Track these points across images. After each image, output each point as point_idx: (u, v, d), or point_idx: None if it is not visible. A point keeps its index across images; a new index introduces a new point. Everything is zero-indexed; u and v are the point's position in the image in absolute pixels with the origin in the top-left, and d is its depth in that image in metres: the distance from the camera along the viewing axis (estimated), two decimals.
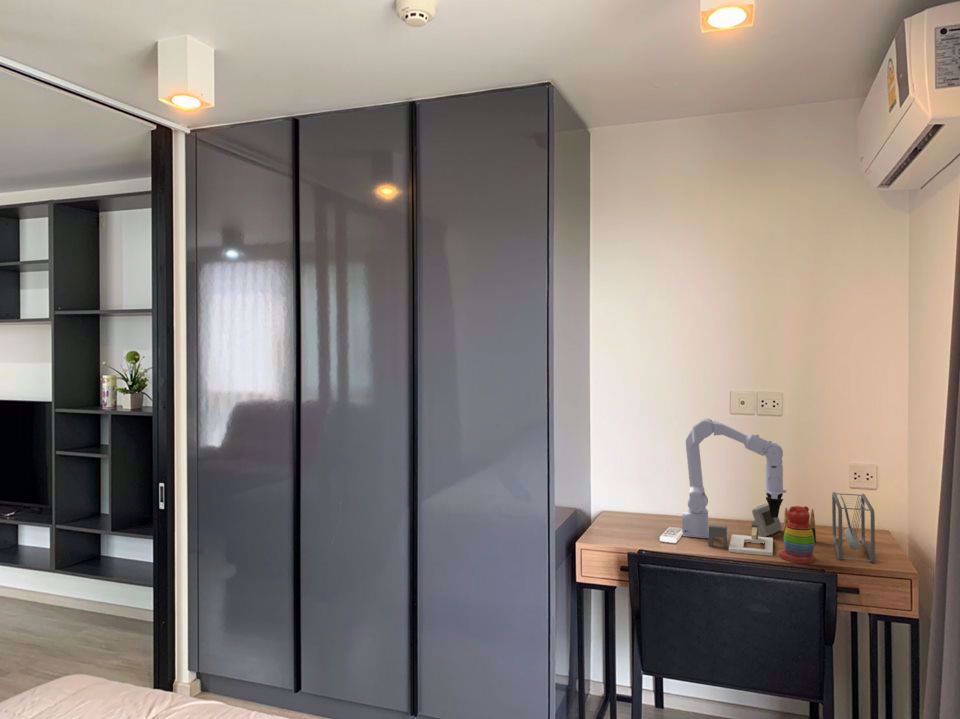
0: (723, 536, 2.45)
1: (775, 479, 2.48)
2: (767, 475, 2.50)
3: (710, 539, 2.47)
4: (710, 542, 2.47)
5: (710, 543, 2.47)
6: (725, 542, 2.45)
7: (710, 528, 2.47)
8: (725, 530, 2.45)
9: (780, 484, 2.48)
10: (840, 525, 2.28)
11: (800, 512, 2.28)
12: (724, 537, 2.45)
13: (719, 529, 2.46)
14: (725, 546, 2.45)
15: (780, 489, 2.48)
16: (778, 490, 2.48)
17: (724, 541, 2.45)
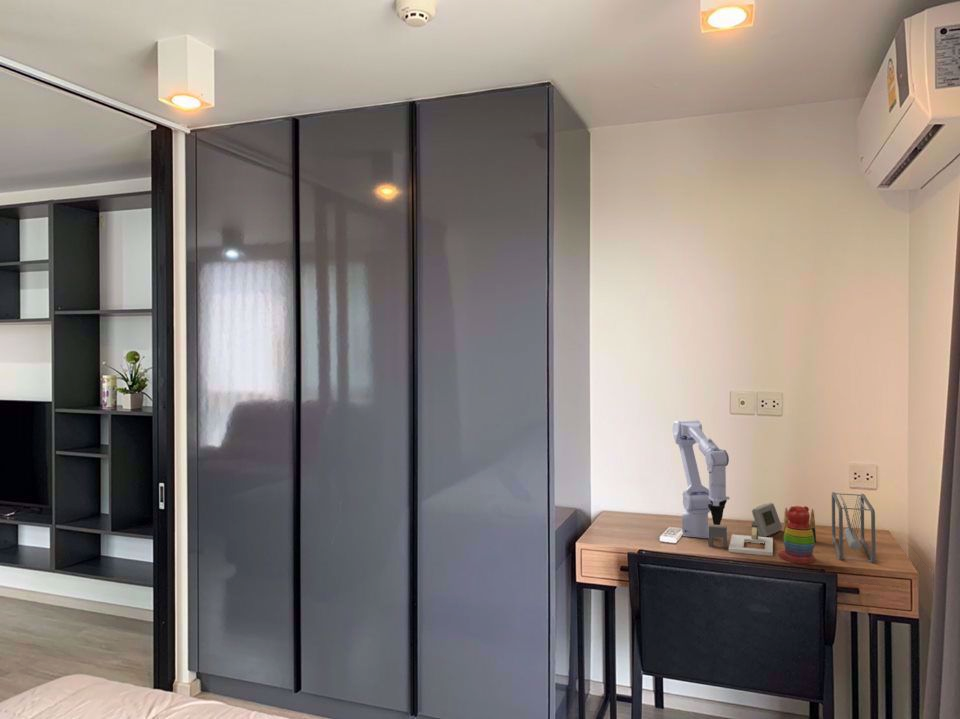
0: (723, 536, 2.45)
1: (717, 486, 2.45)
2: None
3: (710, 539, 2.47)
4: (710, 542, 2.47)
5: (710, 543, 2.47)
6: (725, 542, 2.45)
7: (710, 528, 2.47)
8: (725, 530, 2.45)
9: (722, 491, 2.45)
10: (841, 525, 2.28)
11: (800, 512, 2.28)
12: (724, 537, 2.45)
13: (719, 530, 2.46)
14: (725, 546, 2.45)
15: (723, 496, 2.45)
16: (720, 497, 2.44)
17: (724, 541, 2.45)
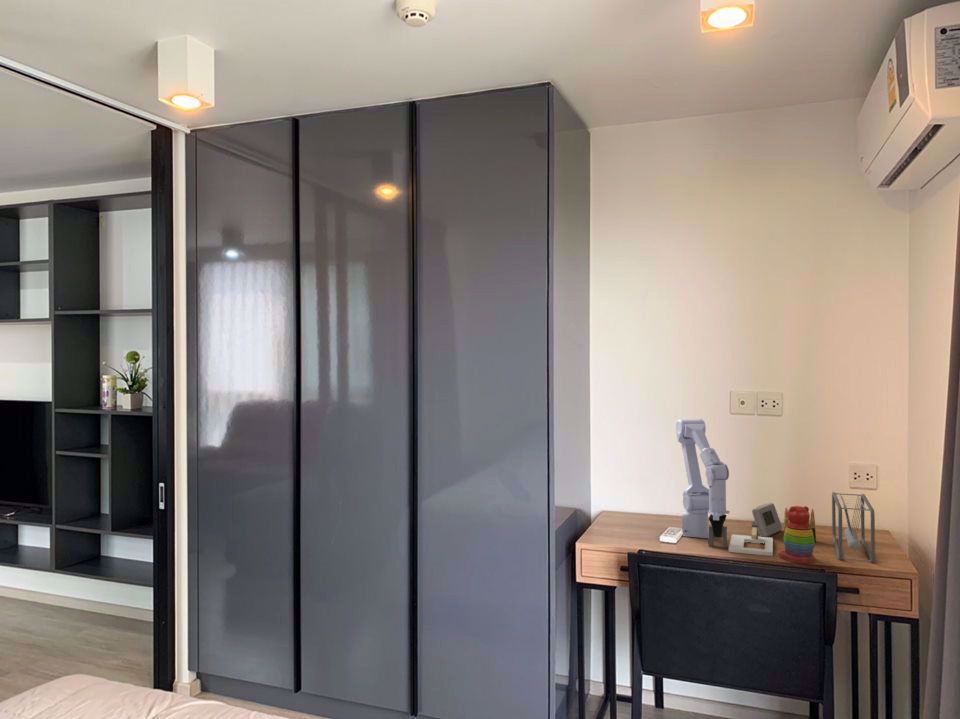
0: (723, 536, 2.45)
1: (718, 500, 2.45)
2: None
3: (710, 539, 2.47)
4: (710, 542, 2.47)
5: (710, 543, 2.47)
6: (725, 542, 2.45)
7: (710, 528, 2.47)
8: (725, 530, 2.45)
9: (722, 505, 2.45)
10: (840, 525, 2.28)
11: (800, 512, 2.28)
12: (724, 537, 2.45)
13: None
14: (725, 546, 2.45)
15: (723, 510, 2.45)
16: (721, 511, 2.44)
17: (724, 541, 2.45)
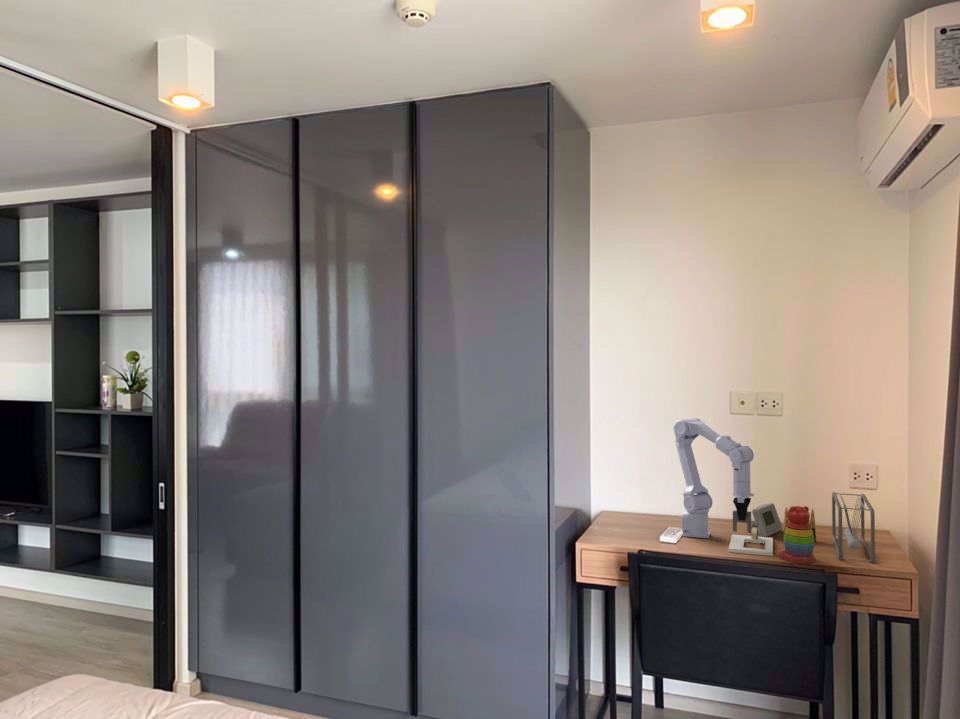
0: (747, 521, 2.43)
1: (742, 482, 2.42)
2: (733, 478, 2.46)
3: (734, 524, 2.45)
4: (734, 527, 2.45)
5: (734, 528, 2.45)
6: (749, 527, 2.43)
7: (734, 513, 2.45)
8: (749, 515, 2.43)
9: (747, 488, 2.43)
10: (840, 525, 2.28)
11: (800, 512, 2.28)
12: (748, 522, 2.43)
13: None
14: (749, 531, 2.43)
15: (747, 493, 2.43)
16: (745, 494, 2.42)
17: (748, 526, 2.43)
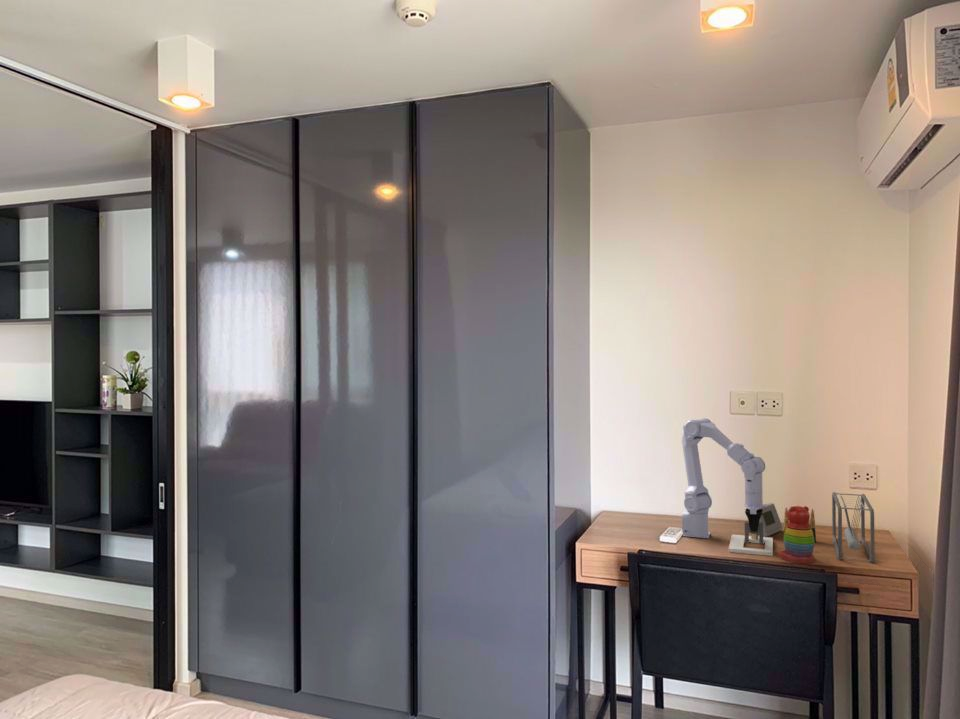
0: (759, 532, 2.43)
1: (754, 494, 2.42)
2: (745, 489, 2.45)
3: (746, 535, 2.44)
4: (746, 538, 2.44)
5: (746, 539, 2.44)
6: (762, 538, 2.42)
7: (746, 524, 2.44)
8: (762, 526, 2.42)
9: (759, 499, 2.42)
10: (840, 525, 2.28)
11: (800, 512, 2.28)
12: (760, 533, 2.42)
13: None
14: (762, 542, 2.42)
15: (759, 504, 2.42)
16: (757, 505, 2.42)
17: (760, 537, 2.42)
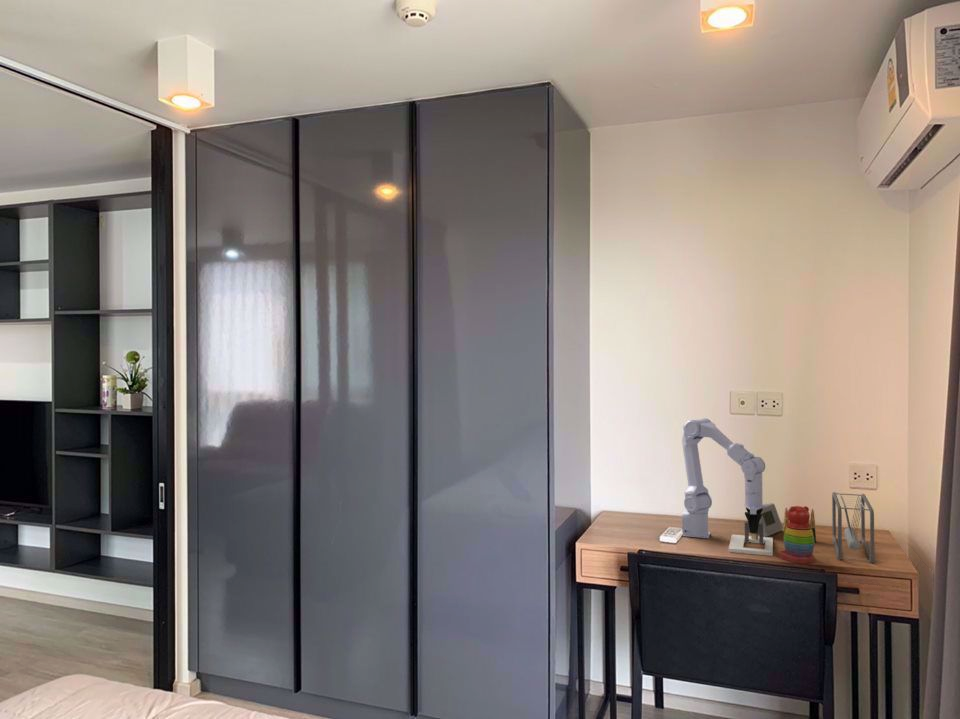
0: (759, 532, 2.43)
1: (754, 494, 2.42)
2: (745, 489, 2.45)
3: (746, 535, 2.44)
4: (746, 538, 2.44)
5: (746, 539, 2.44)
6: (762, 538, 2.42)
7: (746, 524, 2.44)
8: (762, 526, 2.42)
9: (759, 499, 2.42)
10: (839, 525, 2.28)
11: (800, 512, 2.28)
12: (760, 533, 2.42)
13: None
14: (762, 542, 2.42)
15: (759, 504, 2.42)
16: (757, 505, 2.42)
17: (760, 537, 2.42)
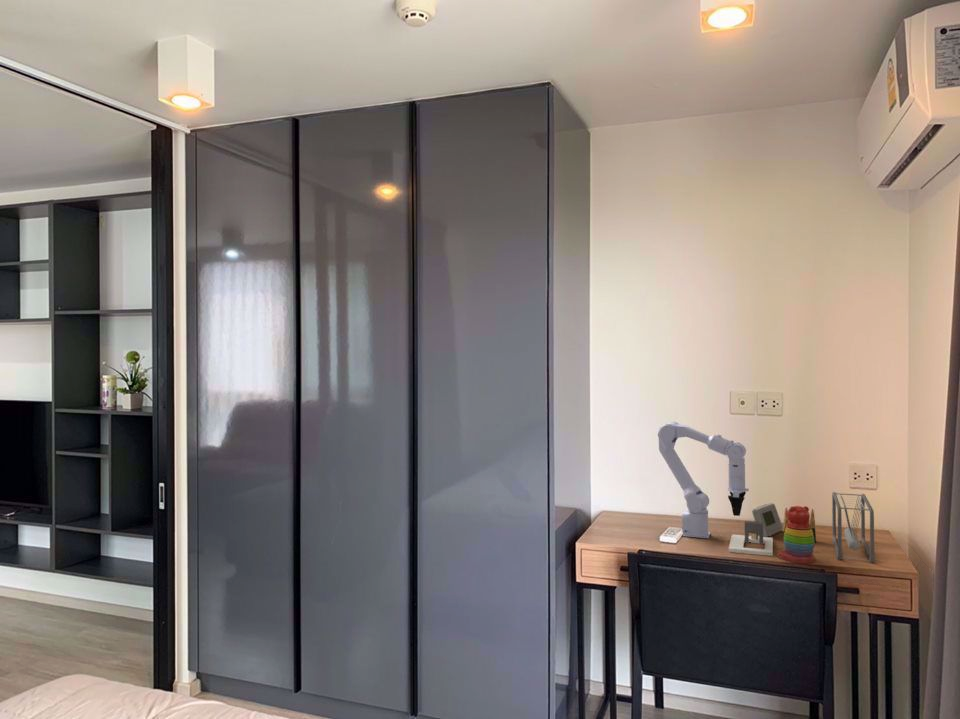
0: (759, 532, 2.43)
1: (737, 478, 2.52)
2: (729, 474, 2.55)
3: (746, 535, 2.44)
4: (746, 538, 2.44)
5: (746, 539, 2.44)
6: (762, 538, 2.42)
7: (746, 524, 2.44)
8: (762, 526, 2.42)
9: (742, 483, 2.52)
10: (839, 525, 2.28)
11: (800, 512, 2.28)
12: (760, 533, 2.42)
13: (755, 525, 2.43)
14: (762, 542, 2.42)
15: (742, 488, 2.52)
16: (740, 489, 2.52)
17: (760, 537, 2.42)
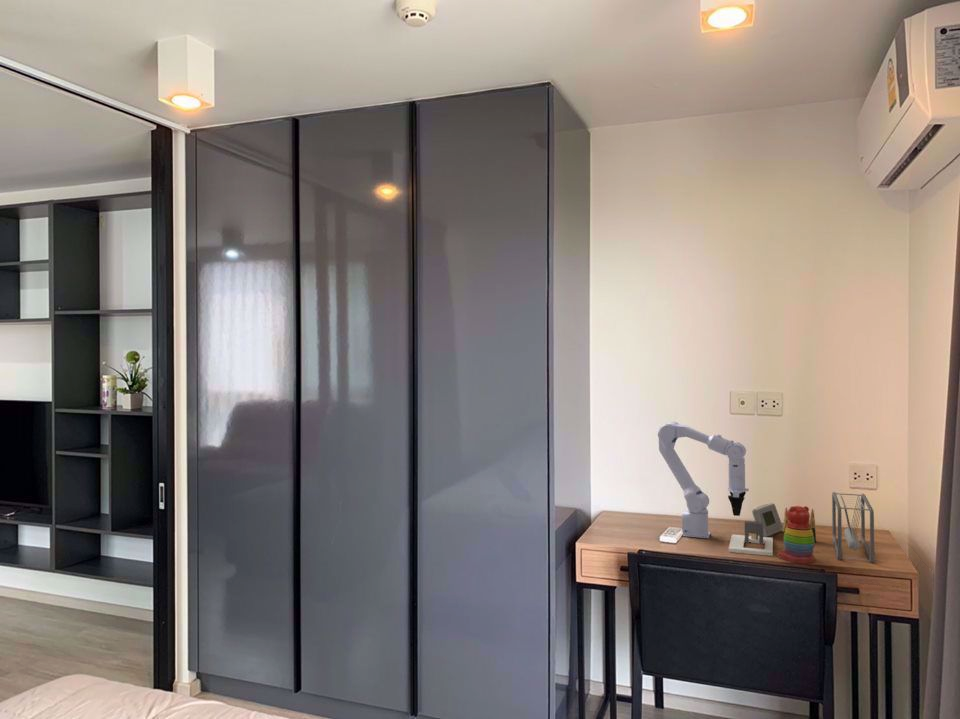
0: (759, 532, 2.43)
1: (737, 478, 2.52)
2: (729, 474, 2.55)
3: (746, 535, 2.44)
4: (746, 538, 2.44)
5: (746, 539, 2.44)
6: (762, 538, 2.42)
7: (746, 524, 2.44)
8: (762, 526, 2.42)
9: (742, 483, 2.52)
10: (839, 525, 2.28)
11: (800, 512, 2.28)
12: (760, 533, 2.42)
13: (755, 525, 2.43)
14: (762, 542, 2.42)
15: (742, 488, 2.52)
16: (740, 489, 2.52)
17: (760, 537, 2.42)
